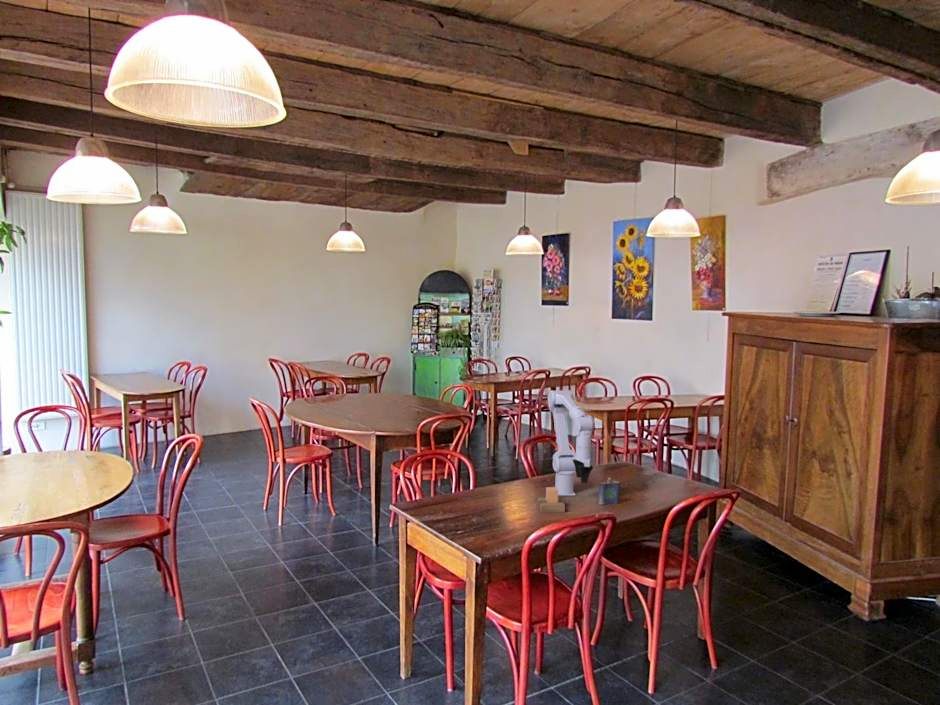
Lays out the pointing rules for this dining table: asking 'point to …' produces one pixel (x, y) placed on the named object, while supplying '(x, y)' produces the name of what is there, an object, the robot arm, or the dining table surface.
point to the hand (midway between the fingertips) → (581, 479)
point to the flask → (609, 492)
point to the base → (551, 505)
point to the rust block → (551, 494)
